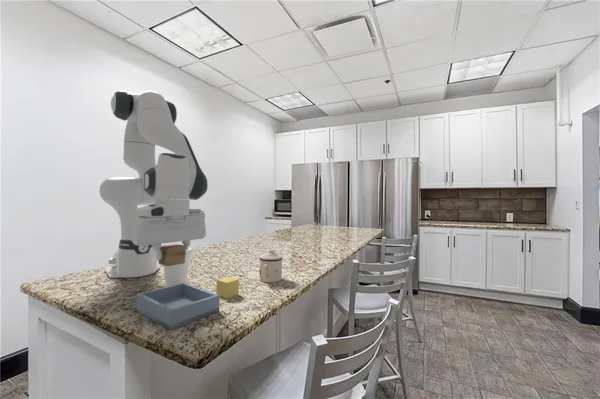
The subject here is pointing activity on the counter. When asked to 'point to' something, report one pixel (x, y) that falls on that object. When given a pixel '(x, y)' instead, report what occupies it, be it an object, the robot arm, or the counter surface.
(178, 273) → the foam cup
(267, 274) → the teacup with lid
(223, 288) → the mustard block
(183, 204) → the robot arm
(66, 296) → the counter surface
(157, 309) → the tray
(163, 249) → the walnut block
